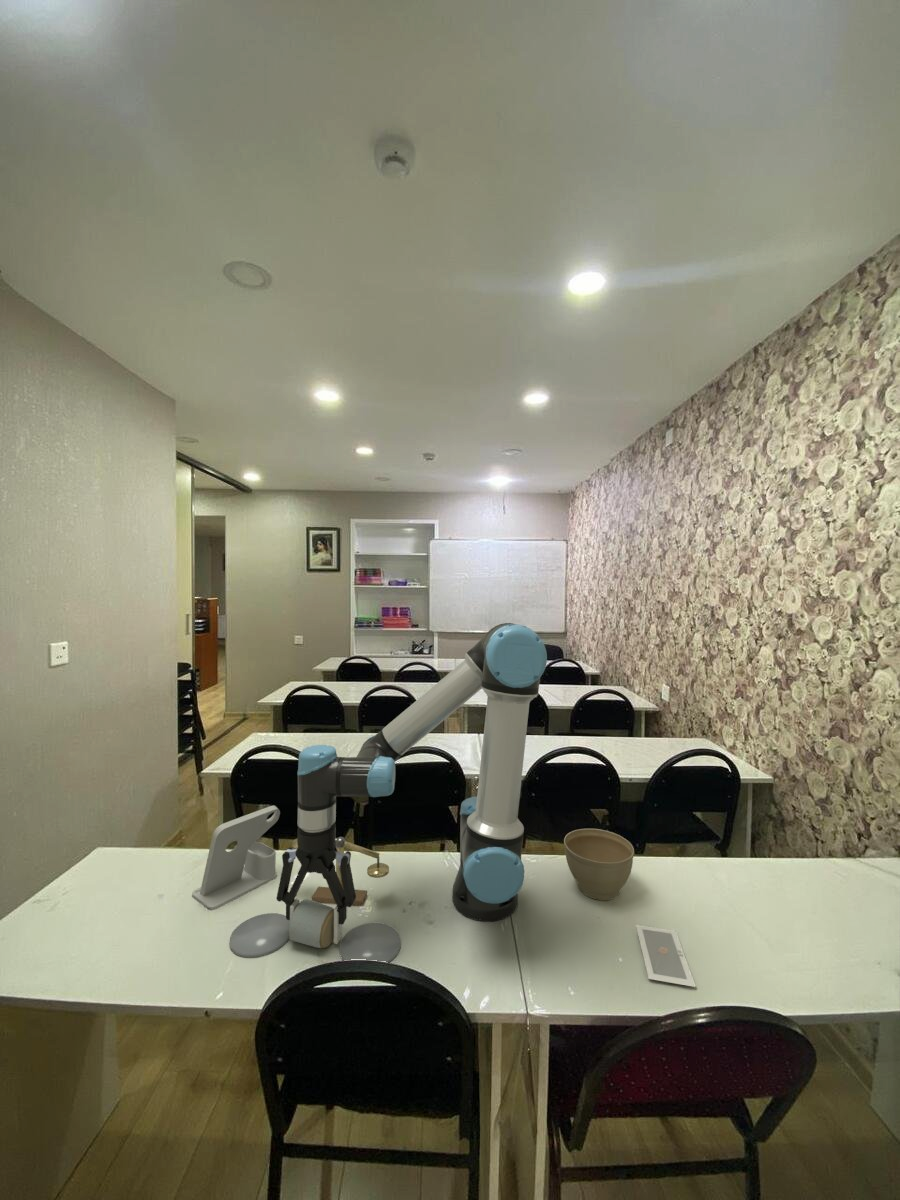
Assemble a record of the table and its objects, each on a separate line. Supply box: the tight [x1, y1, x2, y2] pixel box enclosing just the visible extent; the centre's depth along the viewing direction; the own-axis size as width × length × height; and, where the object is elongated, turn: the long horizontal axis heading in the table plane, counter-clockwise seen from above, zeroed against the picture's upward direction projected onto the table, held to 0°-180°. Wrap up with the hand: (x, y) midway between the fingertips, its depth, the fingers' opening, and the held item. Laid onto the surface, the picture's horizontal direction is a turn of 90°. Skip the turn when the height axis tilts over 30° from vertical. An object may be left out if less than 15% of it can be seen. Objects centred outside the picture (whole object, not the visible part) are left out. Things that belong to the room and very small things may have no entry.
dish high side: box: [229, 912, 291, 959], centre depth 97 cm, size 12×12×1 cm
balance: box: [291, 836, 390, 907], centre depth 110 cm, size 23×5×16 cm, turn 83°
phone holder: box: [191, 805, 281, 911], centre depth 115 cm, size 17×10×18 cm, turn 143°
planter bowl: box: [563, 828, 635, 901], centre depth 114 cm, size 16×16×11 cm
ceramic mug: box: [289, 898, 335, 949], centre depth 97 cm, size 10×8×7 cm
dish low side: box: [339, 922, 402, 963], centre depth 94 cm, size 12×12×1 cm
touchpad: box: [635, 924, 696, 988], centre depth 92 cm, size 8×15×2 cm, turn 167°
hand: (316, 936), depth 96 cm, fingers closed on ceramic mug, 8 cm apart
